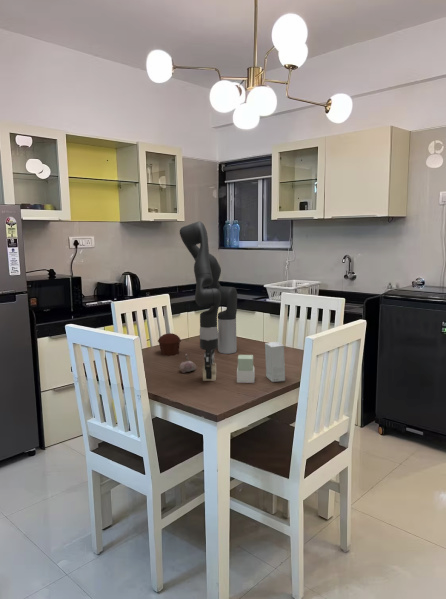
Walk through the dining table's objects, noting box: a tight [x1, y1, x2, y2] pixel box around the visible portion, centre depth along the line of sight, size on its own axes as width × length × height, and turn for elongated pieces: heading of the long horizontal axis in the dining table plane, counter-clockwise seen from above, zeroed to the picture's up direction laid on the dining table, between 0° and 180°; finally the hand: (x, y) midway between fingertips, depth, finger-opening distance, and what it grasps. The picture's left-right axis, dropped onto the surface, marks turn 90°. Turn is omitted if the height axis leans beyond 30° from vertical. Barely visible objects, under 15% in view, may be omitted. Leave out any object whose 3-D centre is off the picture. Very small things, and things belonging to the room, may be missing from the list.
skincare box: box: [264, 341, 286, 383], centre depth 186 cm, size 8×6×15 cm
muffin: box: [157, 332, 182, 357], centre depth 229 cm, size 12×11×10 cm
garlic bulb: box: [178, 353, 197, 374], centre depth 199 cm, size 8×7×8 cm
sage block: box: [237, 354, 254, 371], centre depth 185 cm, size 6×6×5 cm
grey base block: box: [236, 365, 256, 384], centre depth 186 cm, size 7×7×5 cm
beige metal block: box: [202, 362, 217, 382], centre depth 188 cm, size 5×5×6 cm
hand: (209, 376), depth 189 cm, fingers closed on beige metal block, 5 cm apart
